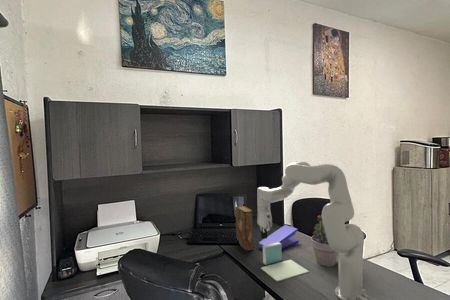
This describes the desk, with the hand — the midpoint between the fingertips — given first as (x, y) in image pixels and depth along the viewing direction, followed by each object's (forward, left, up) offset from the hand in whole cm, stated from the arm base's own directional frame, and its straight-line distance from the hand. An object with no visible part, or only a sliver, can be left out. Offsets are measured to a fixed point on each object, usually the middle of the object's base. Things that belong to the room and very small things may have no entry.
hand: (264, 237), depth 155 cm
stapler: (+10, -18, -12) cm, 23 cm away
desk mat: (-19, 0, -11) cm, 22 cm away
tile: (-8, 0, -11) cm, 14 cm away
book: (+20, +3, -11) cm, 23 cm away
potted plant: (-23, -26, -11) cm, 37 cm away
